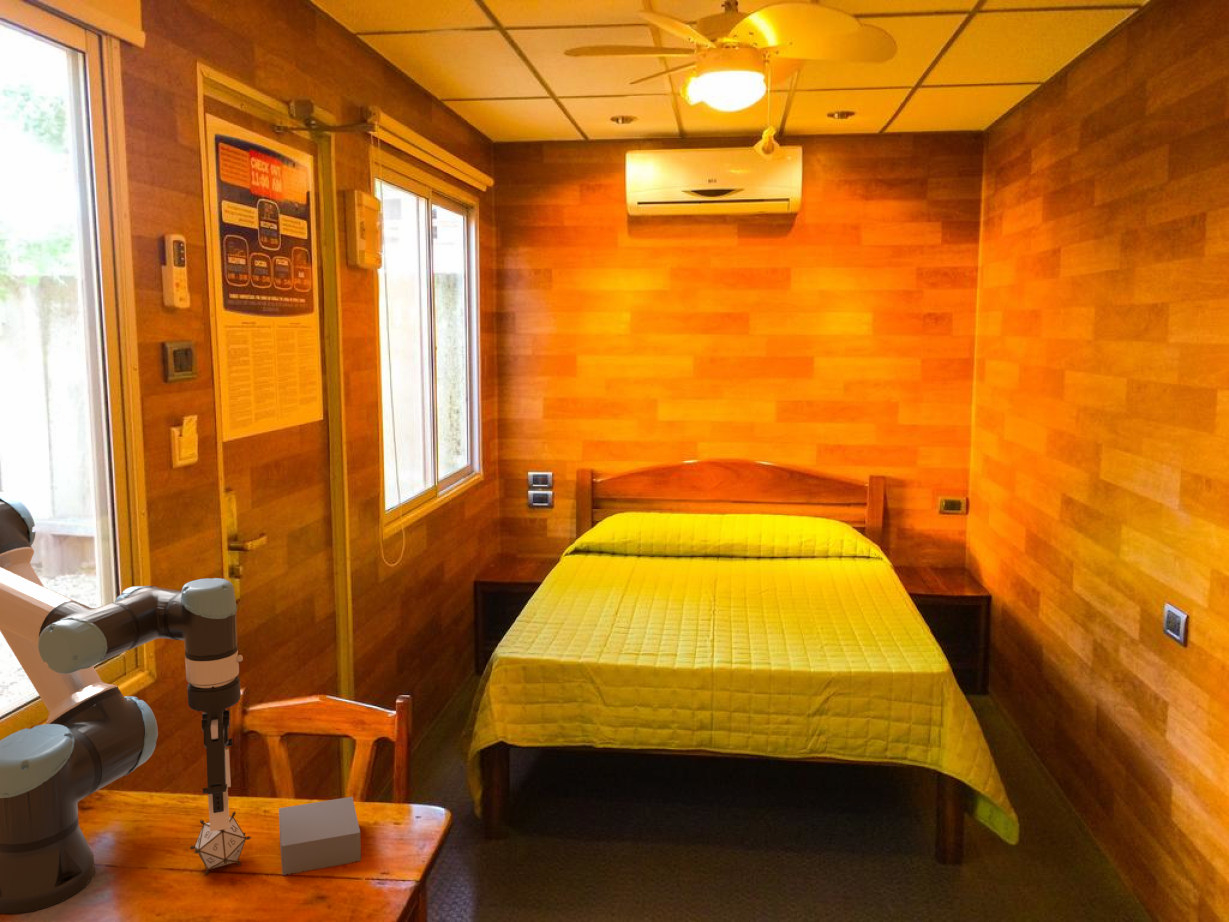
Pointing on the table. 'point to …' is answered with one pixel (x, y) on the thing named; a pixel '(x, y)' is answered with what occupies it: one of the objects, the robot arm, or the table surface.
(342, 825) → the gray block
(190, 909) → the table surface
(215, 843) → the game die
